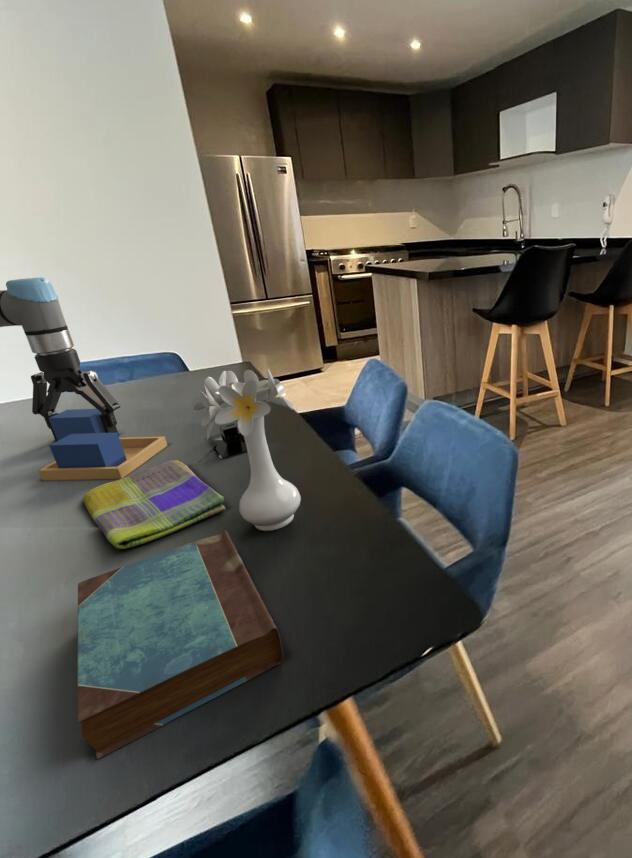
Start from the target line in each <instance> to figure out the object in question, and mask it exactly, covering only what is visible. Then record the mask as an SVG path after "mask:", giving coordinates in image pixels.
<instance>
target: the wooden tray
mask: <svg viewBox="0 0 632 858" xmlns="http://www.w3.org/2000/svg"><path fill="white" fill-rule="evenodd" d="M119 439H120V442H121V445H122V447H123V450H124V453H125V456H126V459H127V460H126V461H125V462H123V463H122V464H120V465H119V466H117V467H90V468H58V465H57V463H56V461H55V460H54V461H53V462H51V463H49V464H47V465H45V466H43V467H42V468H40V469H39V470H38V473H39V476H40V478H41V480H42V481H47V482H48V481H80V480H81V481H82V480H88V481H89V480H120V479H123V478H126V477H127V476H128V475H129V474H130V473H132V472H133V471H134V470H136V469H137V468H139V467H140V466H141V465H143V464H144V463H146V462H147V461H148V460H150V459H151V458H153V457H154V456H155V455H156V454H158V453H160V452H161V451H162V450H163V449H165V448H166V447H168V443H167V440H166V436H136V437H135V436H133V437H119Z"/></svg>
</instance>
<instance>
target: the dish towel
mask: <svg viewBox="0 0 632 858" xmlns="http://www.w3.org/2000/svg"><path fill="white" fill-rule="evenodd" d="M82 501H83V504H84V506H85V508H86V510H87V511H88V514H89V515H90V517H91V518H92V520H93V522H94V524H95V525H96V526H97V528H98V529H99V530H100V531H101V532H102V534H103V535H104V537H106V540H107V541H108V542H109V544H111V545H112V546H114V548H115V549H118V550H125V549H131V548H134V547H138V546H140V545H144V544H146V543H149V542H152V541H156V540H157V539H160V538H163V537H165V536H168V535H170V534H172V533H175V532H177V531H180V530H183V529H184V528H186V527H187V528H188V527H190V526H192V525H193V524H196V523H197V522H200V521H202V520H205V519H207V518H210V517H213V516H215V515H217V514H220V513H222V512H224V511H226V510H227V508H226V507H225V505H223V504H222V503H224V501H225V497H224V496H223V495H221V494H220V493H218V492H217V491H215V490H214V489H213V488H212V487H211V486H209V485H208V484H206V483H205V482H204V481H202V480H201V479H200V478H199V477H198V476H197V475H196V474H195V473H194V472H193V471H192V469H190V468H189V467H188V465H186V464H185V463H183V461H179V460H178V459H175V460H173V459H171V460H168V461H166V462H163V463H160V464H158V465H156V466H152V467H148V468H146V469H143V470H140V471H137V472H135V473H133V474H130V475H127V476H125V477H123V478H122V479H116V480H113V481H110V482H106V483H103V484H100V485H98V486H95V487H93V488H92V489H89V490H88V491H87V492H86V493H85V494H84V495H83V497H82Z"/></svg>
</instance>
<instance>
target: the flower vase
mask: <svg viewBox="0 0 632 858" xmlns="http://www.w3.org/2000/svg"><path fill="white" fill-rule="evenodd" d="M266 370H267V379H263V380H259V377H258V375H257V374H256V373H255V372H254V371H253V370H251V369H246V370H244V372H243V380H244V382H240V381H239V379H238V377H237V376H236V374H235V372H234V371H232V370H223V371H222V372H221V374H220V376H219V379H218V383H217V381H216V379H214V377H211V376H207V377H206V378H205V380H204V385H203V390H204V392H203V391H202V390H199V392H198V395H199V398H200V399H199V400H198V401H197V402H196V403H195V404H194V406H193V410H194V411H200V410H203V409H205V411H204V412H203V413H202V415H201V417H200V424H201V427H202V428H205V427H206V426H207V425H208V426H207V428H206V441H208V440H209V439H210V436H211V434H212V432H213V430H214V428H215V426H216V425H218V426H219V425H223V424H228V423H231V422H233V423H234V421H236V422H237V430H238V432H240V433H241V434H242V435H243V436H244V439H245V443H246V447H247V452H246V453H247V457H248V463H249V467H250V478H249V482H248V486H247V488H246V489H245V491H244V492H243V493H242V495H241V498H240V500H239V503H238V510H239V511H238V512H239V515H240V516H241V517H242V519H243V520H244V521H245V522H247V523H250V524H251V525H253V526H254V527H255V528H256V529H257V530H258V531H262V532H271V531H272V532H273V531H277V530H280V529H282V528H285V527H286V526H288V525H289V524H290V523H292V521H293V520H294V517H295V513H296V512H297V510H298V509H299V508H300V505H301V501H302V497H301V494H300V491H299V489H298V488H297V487H296V486H295V485H294V484H293V483H292V482H290V481H289V480H286V478H285V479H284V478H283V477H282V476H281V475H280V474H279V472H278V470H277V469H276V467H275V465H274V463H273V460H272V456H271V452H270V449H269V446H268V441H267V437H266V430H265V416H267V415H268V414H270V412H271V409H272V408H271V406H270V405H269V404H268V403H269V402H271V403H273V404H275V405H279V406H283V407H285V408H287V409H289V410H292V411H294V412H298V409H297V408H296V407H295V406H294V405H293V403H292V402H290V401H289V400H288V399H286V398H284V397H286V395H287V392H286V389H285V387H284V386H283V384H281V381H280V380H279V379H278V378H274V377H273V374H272V372H271V371H270V369H269V368H267V369H266Z"/></svg>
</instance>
